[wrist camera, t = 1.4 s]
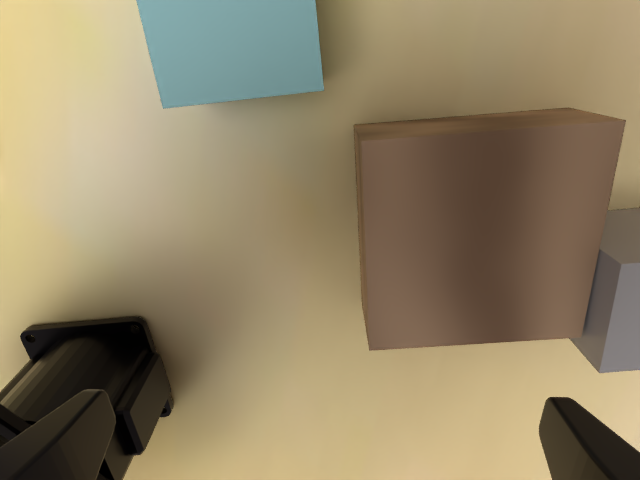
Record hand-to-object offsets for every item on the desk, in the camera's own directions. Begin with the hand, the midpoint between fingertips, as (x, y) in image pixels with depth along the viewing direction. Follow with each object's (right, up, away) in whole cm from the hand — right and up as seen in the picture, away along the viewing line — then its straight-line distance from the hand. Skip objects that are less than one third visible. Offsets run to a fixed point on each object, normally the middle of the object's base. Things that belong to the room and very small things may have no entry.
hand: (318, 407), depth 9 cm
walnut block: (+6, +5, +11) cm, 14 cm away
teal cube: (-3, +12, +8) cm, 15 cm away
